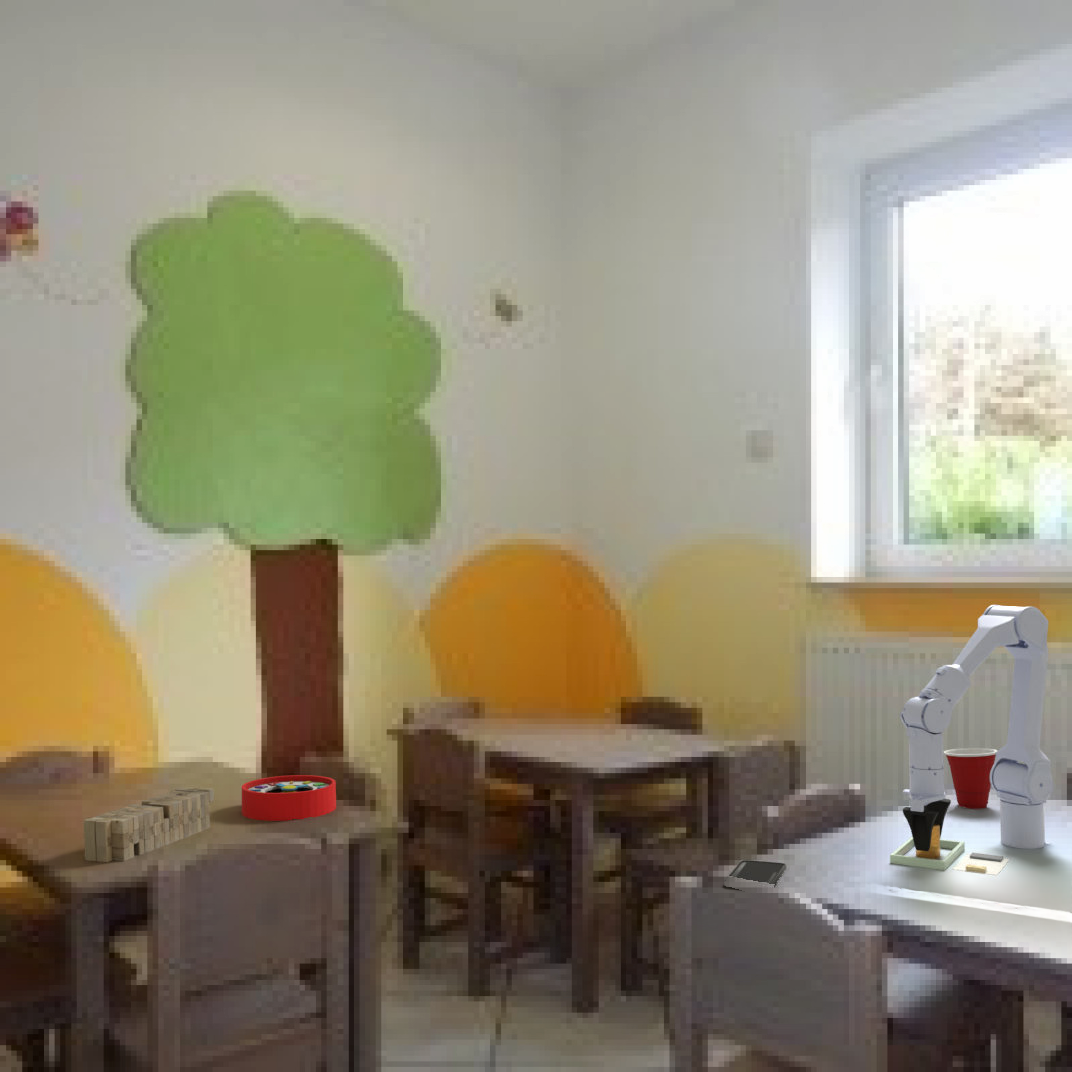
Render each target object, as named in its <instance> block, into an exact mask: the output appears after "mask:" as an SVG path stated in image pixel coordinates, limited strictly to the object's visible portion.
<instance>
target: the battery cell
mask: <svg viewBox="0 0 1072 1072" xmlns="http://www.w3.org/2000/svg"><path fill="white" fill-rule="evenodd" d="M940 839H941V837H940V826H939V825H938V824H935V823H934V825H933V829H932V836H931V845H930V849H929V851H920V850H916V849H915V857H918V858H926V859H934V860H939V859H940V858H941V848H940Z"/></svg>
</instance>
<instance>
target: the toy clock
mask: <svg viewBox="0 0 1072 1072" xmlns="http://www.w3.org/2000/svg"><path fill="white" fill-rule="evenodd" d="M336 782H337V781H336V780H335V779H333V778H332V777H327V776H322V775H308V774H307V775H306V774H305V775H304V774H302V775H301V774H298V775H296V774H295V775H280V776H279V775H278V776H270V777H264V778H263V777H262V778H258V779H255V780H250V781H247V782H245V783H243V784H242V785H241V815H242V816H243V817H245V818H248V819H251V820H257V821H268V822H270V821H271V822H274V821H276V822H278V821H284V822H285V821H286V822H287V821H293V820H292V819H299V820H305V819H304V818H307V819H309V818H308V817H313V818H317V817H322V816H325V815H327V813H328V814H330V812H331V813H333V812H334V811H335V810H336V809H337V791H336V790H337V789H336V787H337V786H336V785H337V783H336ZM332 811H333V812H332ZM321 815H322V816H321Z"/></svg>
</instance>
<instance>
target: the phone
mask: <svg viewBox="0 0 1072 1072" xmlns="http://www.w3.org/2000/svg"><path fill="white" fill-rule="evenodd" d="M785 870H786V871H787V864H786V863H784V862H775V861H773V862H772V861H764V860H763V861H762V860H751V859H750V860H749V859H744V860H741V861H740V862H739V864H737V865H736V866H735V868H733V870H732V871H731V873H730V874H729V875H728V876H733V877H737V878H743V879H746V880H753V881H758V882H767V883H769V884H776V883H777V884H778V882H779V881H780V879H781V878H782V877H783V875H784V874H785V872H786V871H785ZM784 871H785V872H784ZM783 873H784V874H783ZM782 874H783V875H782ZM780 877H781V878H780ZM779 878H780V879H779ZM778 880H779V881H778ZM777 881H778V882H777ZM777 884H776V885H777Z"/></svg>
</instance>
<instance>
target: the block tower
mask: <svg viewBox="0 0 1072 1072" xmlns="http://www.w3.org/2000/svg"><path fill="white" fill-rule="evenodd" d="M214 797H215V796H214V788H212V787H210V788H209V787H185V786H184V787H178V788H175V789H174V790H173V791H172V790H171V791H170V792H168V793H164V794H160V795H157V796H153V797H151V798H148V799H145V800H142V801H141V805H140V804H130V805H127V806H125V807H122V808H119V809H116V810H113V811H108V812H104V813H102V814H99V815H96V816H95V817H94V816H93V817H92V818H89V817H88V818H86V819H84V820H83V840H84V842H83V843H84V860H85V861H92V862H93V861H94V862H96V861H97V862H101V863H103V862H104V863H109V862H112V861H120V862H125V861H128V860H130V859H133V858H135V855H137V856H141V855H144V854H147V853H150V852H151V851H154V850H157V849H160V848H162V847H164V846H167V845H170V844H172V843H175V842H178V841H180V840H182V839H186V838H188V837H190V836H194V835H196V834H199V833H200V832H203V831H205V830H208V829H210V827H211V825H210V823H211V822H210V802H211V803H212V802H214V800H215V798H214Z"/></svg>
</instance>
